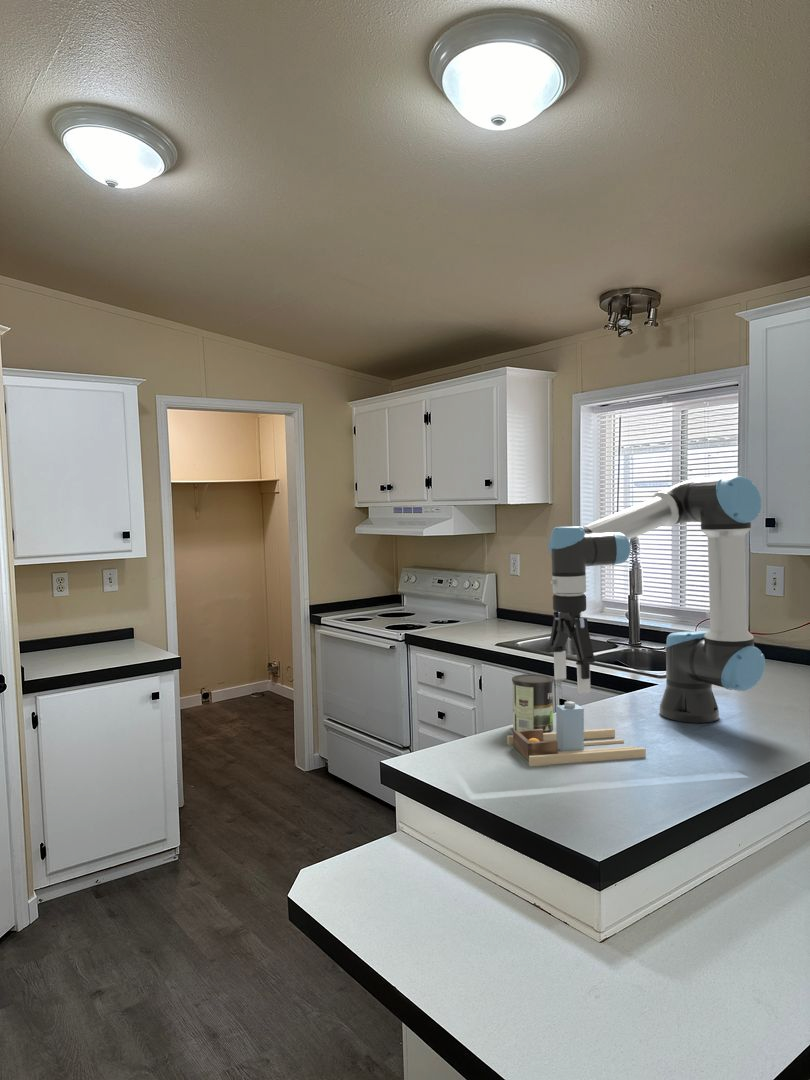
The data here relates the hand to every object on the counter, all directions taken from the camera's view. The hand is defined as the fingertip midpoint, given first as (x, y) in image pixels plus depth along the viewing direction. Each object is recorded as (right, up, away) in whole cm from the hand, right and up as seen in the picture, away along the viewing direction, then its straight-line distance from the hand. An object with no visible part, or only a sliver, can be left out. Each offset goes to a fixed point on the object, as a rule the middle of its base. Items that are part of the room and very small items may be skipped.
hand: (571, 685), depth 167 cm
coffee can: (-6, -16, +18) cm, 24 cm away
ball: (-9, -14, -1) cm, 16 cm away
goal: (-9, -15, -1) cm, 18 cm away
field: (+1, -16, +1) cm, 16 cm away
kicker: (0, -15, 0) cm, 15 cm away
